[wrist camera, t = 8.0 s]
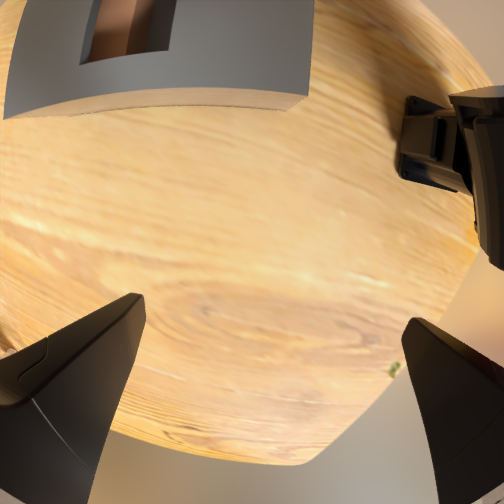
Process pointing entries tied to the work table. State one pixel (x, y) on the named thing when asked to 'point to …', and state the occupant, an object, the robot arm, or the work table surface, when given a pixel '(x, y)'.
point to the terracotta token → (121, 28)
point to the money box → (162, 58)
